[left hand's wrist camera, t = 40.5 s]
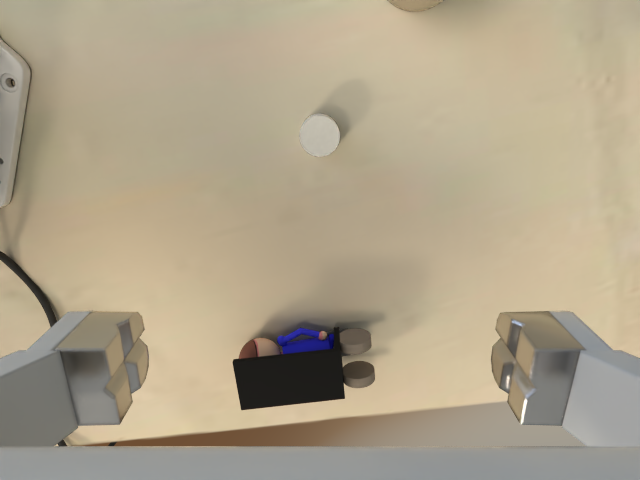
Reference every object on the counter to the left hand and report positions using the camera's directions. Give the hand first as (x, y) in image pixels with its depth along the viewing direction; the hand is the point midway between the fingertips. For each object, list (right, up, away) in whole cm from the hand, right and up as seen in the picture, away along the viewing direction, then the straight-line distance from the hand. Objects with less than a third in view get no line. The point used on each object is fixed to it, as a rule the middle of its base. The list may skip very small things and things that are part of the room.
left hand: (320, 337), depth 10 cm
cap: (0, +12, +32) cm, 34 cm away
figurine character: (-2, -10, +43) cm, 44 cm away
